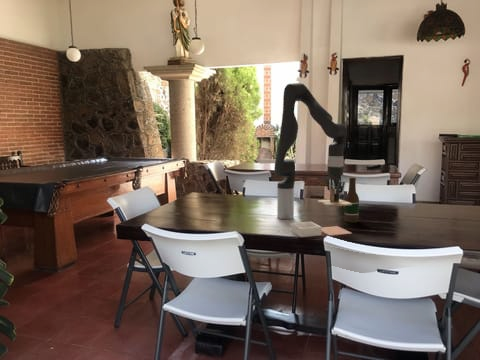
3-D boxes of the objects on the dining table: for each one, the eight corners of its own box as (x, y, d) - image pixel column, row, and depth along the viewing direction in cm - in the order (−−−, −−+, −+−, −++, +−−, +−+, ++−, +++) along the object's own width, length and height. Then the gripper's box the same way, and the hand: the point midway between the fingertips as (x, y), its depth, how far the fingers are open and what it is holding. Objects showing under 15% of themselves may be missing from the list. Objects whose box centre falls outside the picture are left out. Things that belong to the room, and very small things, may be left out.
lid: (317, 201, 192) (317, 188, 191) (338, 200, 195) (338, 187, 194) (329, 206, 180) (330, 192, 179) (352, 204, 184) (352, 191, 183)
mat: (315, 228, 194) (316, 228, 194) (336, 226, 198) (336, 226, 198) (330, 236, 181) (330, 235, 181) (352, 233, 184) (352, 233, 184)
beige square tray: (291, 232, 189) (291, 223, 188) (310, 230, 192) (311, 221, 191) (300, 238, 179) (301, 228, 178) (321, 236, 182) (321, 226, 181)
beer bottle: (356, 219, 212) (357, 176, 209) (360, 223, 204) (362, 178, 201) (342, 219, 212) (343, 176, 208) (346, 223, 204) (347, 178, 201)
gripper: (321, 164, 190) (320, 198, 193) (336, 167, 177) (335, 203, 180) (334, 163, 193) (333, 197, 195) (350, 166, 179) (349, 202, 182)
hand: (334, 200), depth 187 cm, fingers closed on lid, 3 cm apart
